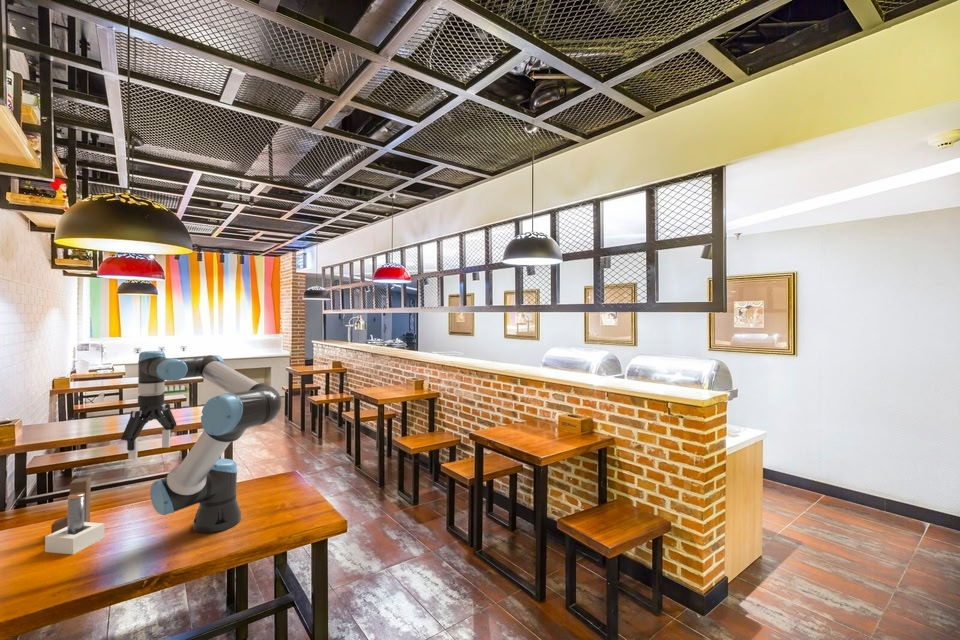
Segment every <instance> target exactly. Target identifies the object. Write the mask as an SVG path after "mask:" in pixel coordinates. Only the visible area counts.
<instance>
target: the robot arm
mask: <svg viewBox="0 0 960 640" xmlns="http://www.w3.org/2000/svg"><path fill="white" fill-rule="evenodd" d="M137 365H138V366H137V367H138V369H137V372H138V373H137V375H138V376H137V379H138V380H137V381H138V384H137V394H138V396H137V406H138V407H139V410H131V411H130V415H129V420H128V422H127V424H126V426H125V429H124V431H123V433H122V435H121V437H120V439H121V441H126V445H127V446H126V449H127V451H128V455H127V456H128V460H134V461H135V460H138V455H139V454H138V449H139V448H138V447H139V446H138V445H139V443H138V441H139V440H138V439H137V438H138V436H139V435H140V433H141V431H142V430H143V429H144V427H145V426H146V424H147V423H149V422H151V421H153V420H156V421H157V422H158V423H159V424H160V425H161V427H163V429H162V431H161V432H162V434H161V437H162V438H161V448H171V438H172V430H175V428H176V427H177V426H178V425H177V421H176V420H175V419H176V418H175V417H174V415H173V413H172V410H171V405H170V404H169V403H165V394H164V393H165V385H166V383H165V381H167V382H173V381H174V382H175V381H179V380H182V379H188V378H198V377H201V378H203V379H204V380H206V381H208V382H210V383H212V384H214V385H215V386H217V387H218V388H220V389H222V390H224V391H225V392H227V393H222V394H219V395H215V396H213V397H211V398H209V399H208V400H207V401H206V402H205V404H204V406H203V407H202V409H201V414H202V415H201V416H200V423H201V426H202V427H201V428H202V429H203V431H202V433H201V434H200V436H199V437H198V438H197V440H196V442H194V444H193V446H192V447H191V449H189V451H188V453H187V455H186V456H185V457H184V459H183V460H182V461H181V464H179V465H176V466H174V467H173V468H172V469H170V471H169V472H168V473H167V475H166V477H164V478H160V479H157V480H155V481H153V482H152V484H151V485H150V491H149V497H150V501H151V504H152V507H153V509H154V510H155V512H156V513H158V514H159V515H161V516H167V515H169V514H174V513H176V512H179V511H181V510H184V509H186V508H189V507H192V506H194V505H197V504H198V505H199V506H198V508H197V510H196V513H195V516H194V519H193V522H192V529H193V531H194V532H196V533H199V534H211V533H217V532H218V533H219V532H221V531H224V530H227V529H231V528H232V527H234V526H236V525H238V524H239V523H240V522H241V520H242V511H241V509H240V505H239V502H238V501H237V483H238V482H237V481H238V478H237V475H238V467H237V466H238V465H237V462H236V461H235V460H233V459H229V458H220V457H221V456H222V455H223V453H224V452H225V451H226V450H227V448H228V447H229V445H230V444H231V443H233V442H235V441H238V440H239V439H240V438H241V437H242V436H243V434H244V433H245V432H246V430H248V429H249V428H250V429H251V428H253V427H258V426H261V425H266V424H268V423H269V422H272V421H273V420H274V419H275V418H277V416H278V415H279V413H280V411H281V409H282V408H281V407H282V398H281V395H280V393H279V392H278V391H277V389H275V387H273V386H271V385H270V384H268V383H266V382H257V381H256V380H253V379H252V378H249V376H246V375H244V374H243V373H241V372H239V371H237V370H236V369H233V368H231V367H230V366H228V365H226V363H225V360H224V359H223V357H222V356H221V355H215V354H214V355H213V354H210V355H202V356H200V355H198V356H184V357H169V358H168V357H166V353H165V351H163V350H146V351H145V350H144V351H141V352H139V354H138V361H137Z"/></svg>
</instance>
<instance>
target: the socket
mask: <svg viewBox="0 0 960 640" xmlns="http://www.w3.org/2000/svg"><path fill="white" fill-rule="evenodd" d="M67 527H68V526H67ZM67 527H65V528H63V529H61V530H58V531H56V532H54V533H52V534H51V533H50V534H48V535H45V537H44V541H45V542H44V553H51V554H61V555H75V554H77V553H78V552H81V551H82V550H84V549H86V548H88V547H90V546H92V545H94V544H96V543H97V542H99V541H101V539H102V540H104V539H105V523H104V522H103V523H101V522H91V521H90V522H84V530H83V531H81V532H79V533H77V534H75V535H72V534H67ZM103 538H104V539H103Z"/></svg>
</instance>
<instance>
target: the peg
mask: <svg viewBox="0 0 960 640" xmlns="http://www.w3.org/2000/svg"><path fill="white" fill-rule="evenodd" d="M84 507H85V493H84V492H79V493H74V494H71V495H70V494H69V495H67V516H68V527H67V534H72V535H75V534H77V533H79V532H81V531H83V530H84Z"/></svg>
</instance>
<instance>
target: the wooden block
mask: <svg viewBox="0 0 960 640" xmlns="http://www.w3.org/2000/svg"><path fill="white" fill-rule="evenodd" d="M91 483H92V479H91V476H87V477H79V478H74V479H73V480H72V481H70V483H69V495H71V494H74V493H79V492H84V493H85V507H84V522H91V489H92V487H91V486H92V484H91ZM67 526H68V515H66V516H64V517H60V518H57V519H56V520H54V522H52V524H51V528H50V529H51V530H50V531H51V533H50V534H52V533H54V532H56V531H58V530H61V529H63V528H65V527H67Z"/></svg>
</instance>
